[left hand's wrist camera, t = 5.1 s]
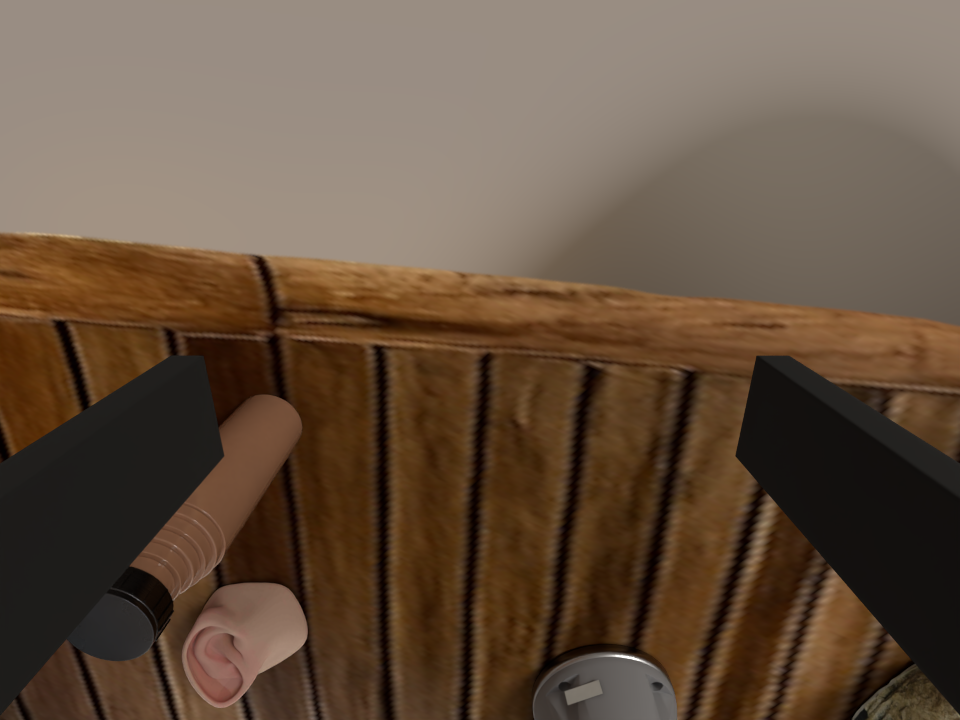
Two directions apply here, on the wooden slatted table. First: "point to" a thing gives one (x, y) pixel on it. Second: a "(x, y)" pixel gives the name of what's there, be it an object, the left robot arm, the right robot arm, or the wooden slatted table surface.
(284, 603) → the anatomical model
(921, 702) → the fossil
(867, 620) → the wooden slatted table surface
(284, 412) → the bottle
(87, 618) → the cap
